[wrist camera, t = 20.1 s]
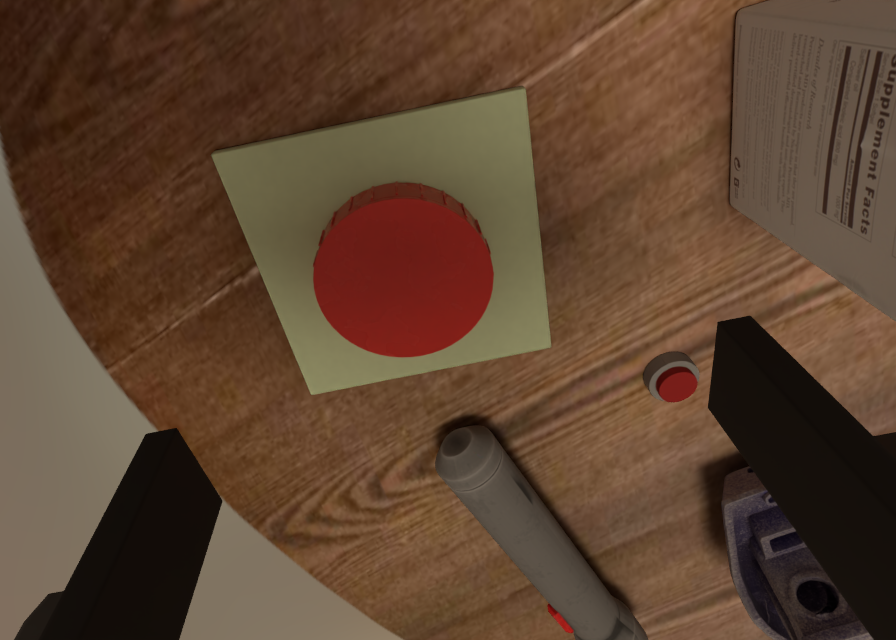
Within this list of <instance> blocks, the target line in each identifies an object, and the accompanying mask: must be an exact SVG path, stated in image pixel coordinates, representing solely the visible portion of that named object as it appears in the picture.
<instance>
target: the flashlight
mask: <svg viewBox="0 0 896 640" xmlns="http://www.w3.org/2000/svg"><path fill="white" fill-rule="evenodd" d="M435 466H436V470H437V473H438V474H439V476H440V477H441V478H442V479H443V480H444V481H445V483H446V484H447V485H448V486H449V487H450V488H451V490H452V491H453V492H454V493H455V494H456V495H457V497H458V498H459V499H460V500H461V501H462V502H463V504H464V505H465V506H466V507H467V508H468V509H469V511H470V512H471V513H472V514H473V515H474V516H475V518H476V519H477V520H478V521H479V522H480V523H481V525H482V526H483V527H484V528H485V529H486V530H487V532H488V533H489V534H490V535H491V536H492V537H493V539H494V540H495V541H496V542H497V543H498V544H499V546H500V547H501V548H502V549H503V550H504V551H505V553H506V554H507V555H508V556H509V557H510V558H511V560H512V561H513V562H514V563H515V564H516V565H517V566H518V568H519V569H520V570H521V571H522V572H523V573H524V575H525V576H526V577H527V578H528V579H529V580H530V582H531V583H532V584H533V585H534V586H535V587H536V589H537V590H538V591H539V592H540V593H541V594H542V596H543V597H544V598H545V599H546V600H547V601H548V603H549V604H548V605H547V606H548V612H549V613H550V614H551V615H552V616H553V617H554V619H555V620H556V621H557V622H558V623H559V624H560V625H561V627H562V628H563V629H564V630H565V631H566V632H568V633H574V636H575V639H576V640H648V638H647V635H646V633H645V631H644V629H643V628H642V627H641V625H640V624H639V622H638V621H637V620H636V618H635V617H634V615H633V614H632V613H631V611H630V610H629V609H628V607H627V606H626V605H625V604H624V603H623V602H621V601H620V600H618V599H616V598H615V597H613V596H611V595H610V593H609V592H608V590H607V589H606V588H605V586H604V585H603V584H602V582H601V581H600V580H599V578H598V577H597V576H596V574H595V573H594V571H593V570H592V569H591V567H590V566H589V565H588V563H587V562H586V561H585V559H584V558H583V556H582V555H581V554H580V552H579V551H578V550H577V548H576V547H575V546H574V544H573V543H572V541H571V540H570V539H569V537H568V536H567V535H566V533H565V532H564V531H563V529H562V528H561V527H560V525H559V524H558V522H557V521H556V520H555V518H554V517H553V516H552V514H551V513H550V512H549V510H548V509H547V507H546V506H545V505H544V503H543V502H542V501H541V499H540V498H539V497H538V495H537V494H536V492H535V491H534V490H533V488H532V487H531V486H530V484H529V483H528V482H527V480H526V479H525V478H524V476H523V475H522V473H521V472H520V471H519V469H518V468H517V467H516V465H515V464H514V463H513V461H512V460H511V458H510V457H509V456H508V454H507V453H506V452H505V450H504V449H503V448H502V446H501V445H500V444H499V442H498V441H497V439H496V438H495V437H494V435H493V434H492V433H491V431H490V430H489V429H487V428H486V427H483V426H480V425H473V426H467V427H463V428H459V429H456V430H454V431H452V432H451V433H449V434H448V435H447V436H446V438H445V439H444V440H443V442H442V444H441V447H440V449H439V451H438V454H437V457H436V462H435Z"/></svg>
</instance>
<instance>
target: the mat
mask: <svg viewBox="0 0 896 640" xmlns="http://www.w3.org/2000/svg"><path fill="white" fill-rule="evenodd" d="M211 156H212V159H213V161H214V163H215V166H216V168H217V171H218V173H219V175H220V178H221V180H222V183H223V185H224V187H225V190H226V192H227V195H228V197H229V199H230V202H231V204H232V207H233V209H234V211H235V214H236V216H237V218H238V221H239V223H240V226H241V228H242V230H243V233H244V235H245V238H246V240H247V242H248V245H249V247H250V250H251V252H252V254H253V257H254V259H255V262H256V264H257V266H258V269H259V271H260V274H261V276H262V278H263V281H264V283H265V286H266V288H267V290H268V293H269V295H270V298H271V300H272V302H273V305H274V307H275V310H276V312H277V314H278V317H279V319H280V322H281V324H282V326H283V329H284V331H285V334H286V336H287V338H288V341H289V343H290V345H291V348H292V350H293V353H294V355H295V357H296V360H297V362H298V365H299V367H300V369H301V372H302V374H303V377H304V379H305V381H306V384H307V386H308V389H309V391H310V393H311V395H314V394H319V393H324V392H329V391H334V390H339V389H344V388H350V387H355V386H360V385H365V384H370V383H375V382H380V381H385V380H390V379H395V378H400V377H405V376H410V375H415V374H420V373H425V372H430V371H435V370H440V369H445V368H450V367H456V366H461V365H466V364H471V363H476V362H481V361H486V360H491V359H496V358H501V357H506V356H511V355H516V354H521V353H526V352H531V351H536V350H541V349H546V348H551V337H550V327H549V317H548V307H547V297H546V287H545V277H544V267H543V257H542V247H541V237H540V227H539V217H538V207H537V197H536V187H535V177H534V167H533V157H532V147H531V137H530V127H529V117H528V107H527V97H526V89H525V88H524V87H523V86H519V87H514V88H510V89H505V90H500V91H496V92H491V93H486V94H481V95H477V96H472V97H467V98H463V99H458V100H453V101H448V102H444V103H439V104H434V105H429V106H425V107H420V108H415V109H411V110H406V111H401V112H396V113H392V114H387V115H382V116H378V117H373V118H368V119H363V120H359V121H354V122H349V123H344V124H340V125H335V126H330V127H326V128H321V129H316V130H311V131H307V132H302V133H297V134H293V135H288V136H283V137H278V138H274V139H269V140H264V141H260V142H255V143H250V144H245V145H241V146H236V147H231V148H226V149H222V150H217V151H214V152H213V153H212V154H211ZM396 181H398V183H416V184H420V183H422V185H426V186H430V187H433V188H435V189H438V190H440V191H442V190H444V191H445V193H446V194H448V195H450V196H452V197H453V198H455V199H456V200H457V201H458V202H460V203H463V204H464V207H465V208H466V209H467V210H468V211H469V212H470V213H471V215H472V216H473V217H474V219H475V220H476V219H477V220H478V223H479V225H480V228H481V231H482V234H483V236H484V239H485V238H486V240H487V243H488V245H489V248H490V251H491V254H490V257H491V261H492V265H493V271H494V280H493V290H492V294H491V298H490V301H489V304H488V306H487V309H486V310H485V312H484V314H483V316H482V318H481V319H480V320H479V322H478V323H477V324H476V326H475V327H474V328H473V329H472V330H471V331H470V332H469V333H468V334H467V335H465V336H464V337H463V338H462V339H460V340H459V341H457V342H456V343H454V344H453V345H451V346H449V347H447V348H445V349H443V350H440V351H437V352H435V353H431V354H427V355H423V356H417V357H389V356H384V355H379V354H375V353H372V352H369V351H367V350H364V349H362V348H360V347H358V346H356V345H354V344H352V343H351V342H349V341H348V340H346V339H345V338H344V337H342V336H341V335H340V334H339V333H338V332H337V331H336V330H335V329H334V328H333V327H332V326H331V325H330V323H329V322H328V321H327V319H326V318H325V316H324V315H323V313H322V311H321V309H320V307H319V304H318V302H317V299H316V295H315V292H314V283H313V271H314V267H313V263H314V259H315V256H316V252H317V250H318V249H319V246H318V244H319V241H320V237H321V234H322V231H323V230H325V228H326V226H327V224H328V223H329V221H330V219H331V218H332V217H333V213H334V211H335V212H336V211H337V210H338V209H339V208H340V207H341V206H342V205H343V204H344V203H346V202H347V201H348V200H350V197H351V196H353V197H354V196H356V195H357V194H359V193H361V192H363V191H365V190H367V189H370V188H372V186H374V187H376V186H379V185H383V184H389V183H395V182H396Z"/></svg>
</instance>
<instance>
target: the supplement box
mask: <svg viewBox="0 0 896 640" xmlns="http://www.w3.org/2000/svg"><path fill="white" fill-rule="evenodd" d="M730 204H731V206H732V207H734V208H735V209H736V210H738V211H739V212H741V213H742V214H743V215H745V216H746V217H748V218H749V219H751V220H752V221H754V222H755V223H756V224H758V225H759V226H761V227H762V228H764V229H765V230H767V231H768V232H769V233H771V234H772V235H774V236H775V237H776V238H778V239H779V240H781V241H782V242H783V243H785V244H786V245H788V246H789V247H790V248H792V249H793V250H795V251H796V252H798V253H799V254H800V255H802V256H803V257H805V258H806V259H808V260H809V261H810V262H812V263H813V264H814V265H816V266H817V267H819V268H820V269H822V270H823V271H825V272H826V273H828V274H829V275H831V276H832V277H834V278H835V279H837V280H838V281H839V282H841V283H842V284H843V285H845V286H846V287H847V288H849V289H850V290H851V291H853V292H854V293H856V294H857V295H859V296H860V297H862V298H863V299H864V300H866V301H867V302H869V303H870V304H872V305H873V306H874V307H876V308H877V309H879V310H880V311H882V312H883V313H884V314H886V315H887V316H889V317H890V318H892V319H893V320H894V321H896V0H769V1H765V2H761V3H758V4H755V5H752V6H748V7H745V8H742V9H741V10H739V11H738V13H737V16H736V29H735V55H734V85H733V117H732V146H731V176H730Z"/></svg>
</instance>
